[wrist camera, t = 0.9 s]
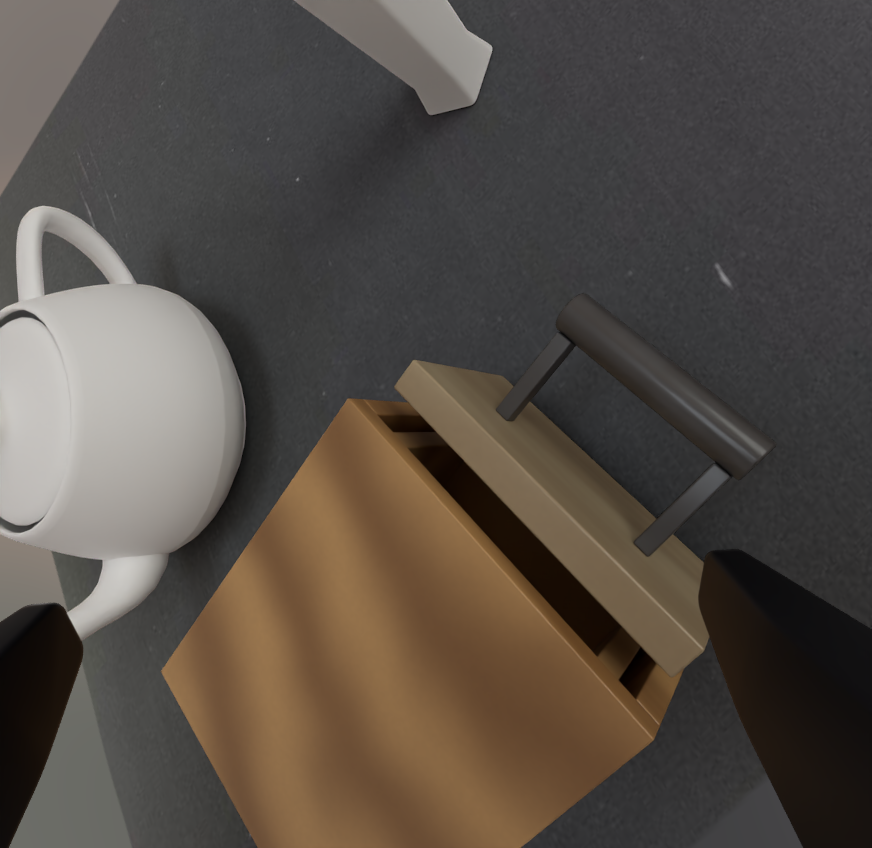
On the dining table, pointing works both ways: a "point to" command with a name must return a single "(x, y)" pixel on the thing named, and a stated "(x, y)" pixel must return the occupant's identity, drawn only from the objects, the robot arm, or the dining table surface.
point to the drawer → (583, 487)
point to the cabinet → (397, 667)
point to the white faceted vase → (414, 45)
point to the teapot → (111, 420)
